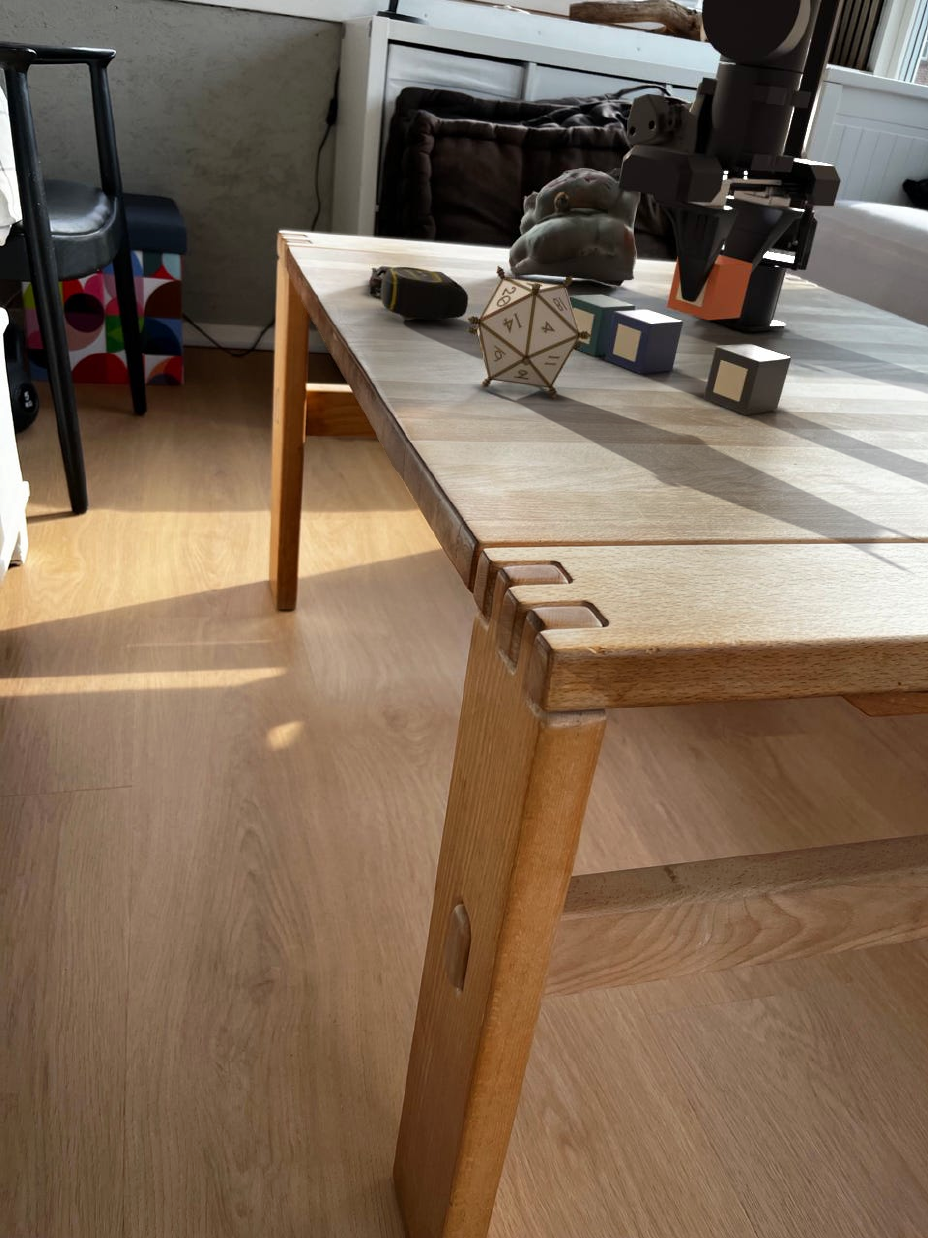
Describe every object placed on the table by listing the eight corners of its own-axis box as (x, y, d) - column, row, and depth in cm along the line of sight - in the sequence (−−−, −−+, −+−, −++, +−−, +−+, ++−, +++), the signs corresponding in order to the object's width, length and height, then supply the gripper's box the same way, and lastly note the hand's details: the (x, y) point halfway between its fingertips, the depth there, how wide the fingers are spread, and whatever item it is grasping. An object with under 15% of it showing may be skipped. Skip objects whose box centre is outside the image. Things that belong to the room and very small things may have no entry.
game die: (522, 446, 74) (542, 359, 65) (435, 377, 76) (443, 283, 67) (598, 374, 77) (628, 282, 68) (513, 310, 79) (531, 211, 70)
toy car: (371, 280, 101) (373, 257, 100) (406, 284, 101) (408, 261, 100) (367, 297, 94) (369, 273, 93) (404, 301, 94) (407, 278, 93)
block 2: (636, 356, 87) (646, 309, 85) (672, 370, 84) (683, 321, 82) (603, 360, 84) (613, 311, 82) (639, 374, 82) (650, 323, 80)
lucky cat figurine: (482, 272, 111) (496, 145, 111) (536, 308, 121) (549, 191, 121) (608, 258, 102) (623, 120, 102) (655, 297, 112) (669, 172, 112)
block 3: (734, 393, 80) (748, 342, 78) (777, 409, 77) (791, 357, 76) (702, 398, 78) (715, 346, 76) (744, 415, 75) (759, 361, 73)
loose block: (699, 304, 81) (711, 252, 79) (739, 317, 78) (753, 263, 76) (665, 306, 78) (677, 252, 76) (706, 320, 76) (719, 264, 74)
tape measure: (467, 330, 88) (472, 285, 86) (389, 325, 85) (394, 279, 84) (444, 310, 93) (449, 267, 91) (370, 305, 91) (374, 262, 89)
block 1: (593, 340, 90) (601, 293, 88) (626, 352, 87) (636, 305, 86) (560, 343, 88) (568, 295, 86) (593, 356, 85) (602, 307, 83)
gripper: (747, 69, 81) (701, 272, 89) (583, 42, 70) (546, 278, 77) (871, 84, 74) (810, 304, 81) (711, 58, 63) (657, 315, 70)
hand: (706, 299), depth 78 cm, fingers closed on loose block, 4 cm apart
